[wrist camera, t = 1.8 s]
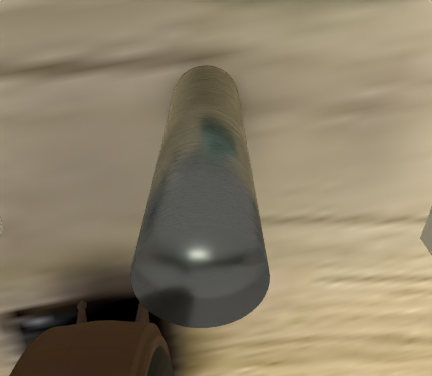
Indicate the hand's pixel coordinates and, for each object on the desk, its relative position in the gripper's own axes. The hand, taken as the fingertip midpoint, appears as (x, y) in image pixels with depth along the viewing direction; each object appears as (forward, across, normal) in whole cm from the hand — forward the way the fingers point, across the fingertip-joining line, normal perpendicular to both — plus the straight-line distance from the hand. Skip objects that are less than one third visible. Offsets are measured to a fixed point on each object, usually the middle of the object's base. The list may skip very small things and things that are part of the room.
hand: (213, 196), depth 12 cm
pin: (+8, 0, 0) cm, 9 cm away
